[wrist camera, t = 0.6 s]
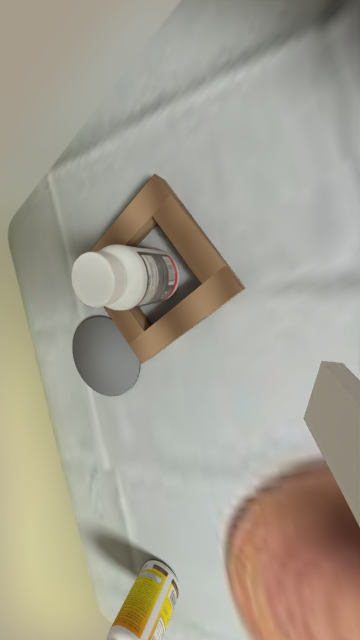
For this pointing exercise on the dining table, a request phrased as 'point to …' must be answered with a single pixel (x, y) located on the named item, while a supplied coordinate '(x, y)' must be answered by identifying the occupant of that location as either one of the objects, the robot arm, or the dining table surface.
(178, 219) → the pocket
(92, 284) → the pill bottle
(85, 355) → the coaster
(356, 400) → the robot arm
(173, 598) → the supplement bottle
